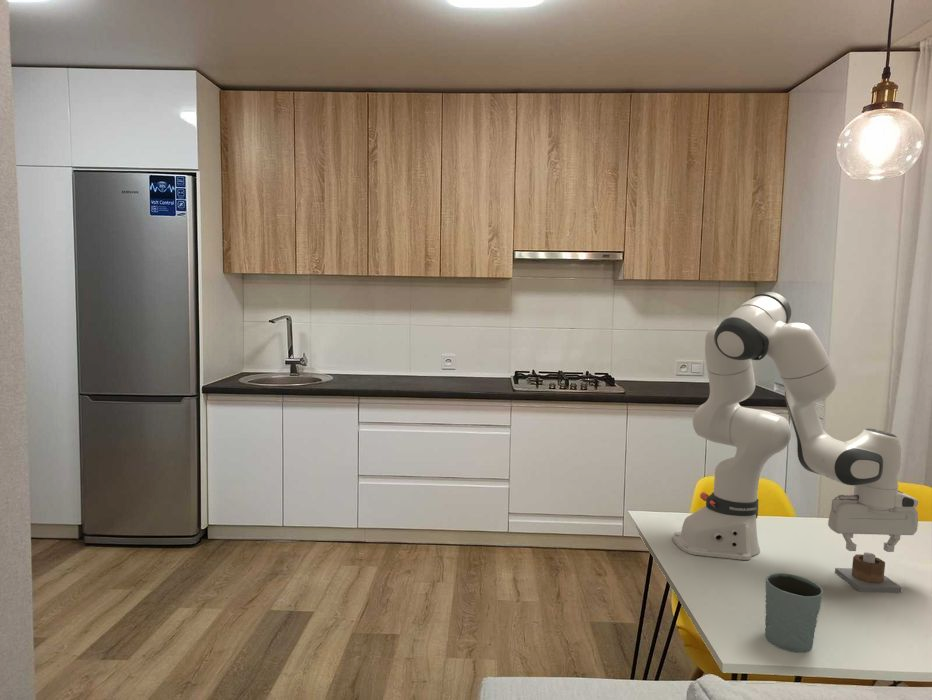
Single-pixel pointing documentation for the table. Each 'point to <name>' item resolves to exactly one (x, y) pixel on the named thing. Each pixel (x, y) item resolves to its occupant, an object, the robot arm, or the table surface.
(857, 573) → the ring
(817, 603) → the grey blue cup
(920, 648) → the table surface
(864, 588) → the shaft stand
